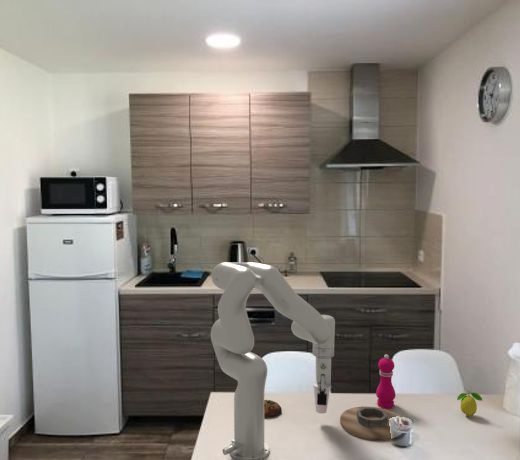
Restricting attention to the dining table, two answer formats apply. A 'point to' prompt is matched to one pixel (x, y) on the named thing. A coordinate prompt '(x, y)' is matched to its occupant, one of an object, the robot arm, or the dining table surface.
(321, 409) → the smoothie
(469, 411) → the lemon
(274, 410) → the bread roll
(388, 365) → the pepper mill
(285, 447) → the dining table surface
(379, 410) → the carrier plate
